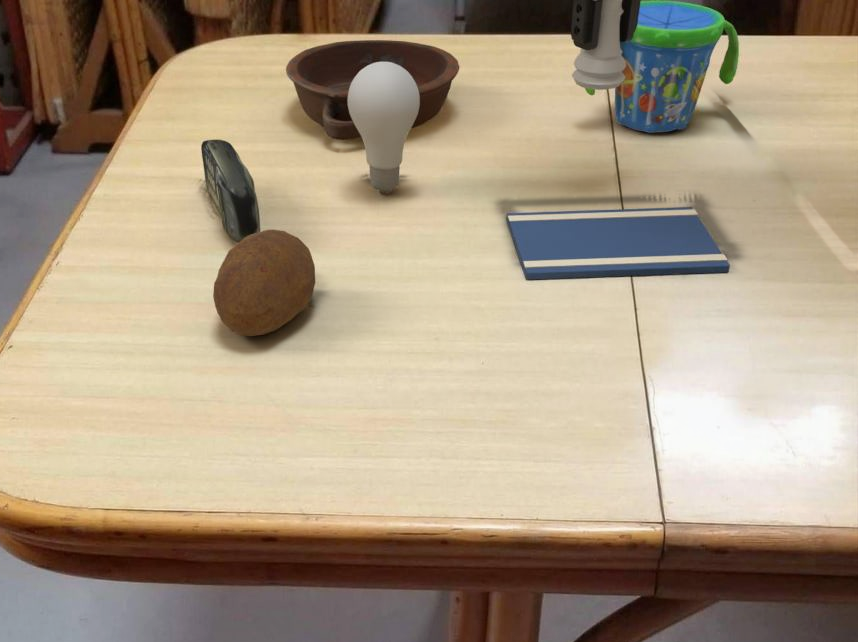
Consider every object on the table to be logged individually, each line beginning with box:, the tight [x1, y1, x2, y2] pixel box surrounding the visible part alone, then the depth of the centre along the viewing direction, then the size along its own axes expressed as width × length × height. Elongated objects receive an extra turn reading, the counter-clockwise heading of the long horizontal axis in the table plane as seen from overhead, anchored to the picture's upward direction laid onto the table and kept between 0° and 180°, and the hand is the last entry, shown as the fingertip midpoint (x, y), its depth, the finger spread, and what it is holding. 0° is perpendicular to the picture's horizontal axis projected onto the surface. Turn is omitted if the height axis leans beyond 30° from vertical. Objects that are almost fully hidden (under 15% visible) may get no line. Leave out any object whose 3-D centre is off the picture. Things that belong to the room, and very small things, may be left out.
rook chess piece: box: [571, 0, 626, 91], centre depth 87 cm, size 4×4×8 cm
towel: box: [505, 206, 731, 281], centre depth 87 cm, size 16×11×1 cm
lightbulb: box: [347, 62, 420, 194], centre depth 92 cm, size 6×6×11 cm
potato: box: [212, 229, 316, 337], centre depth 77 cm, size 7×10×6 cm
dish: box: [285, 39, 460, 141], centre depth 109 cm, size 18×22×5 cm
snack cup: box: [584, 0, 740, 134], centre depth 105 cm, size 16×10×10 cm
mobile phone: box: [200, 139, 261, 243], centre depth 90 cm, size 5×3×15 cm
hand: (603, 42), depth 87 cm, fingers closed on rook chess piece, 3 cm apart
